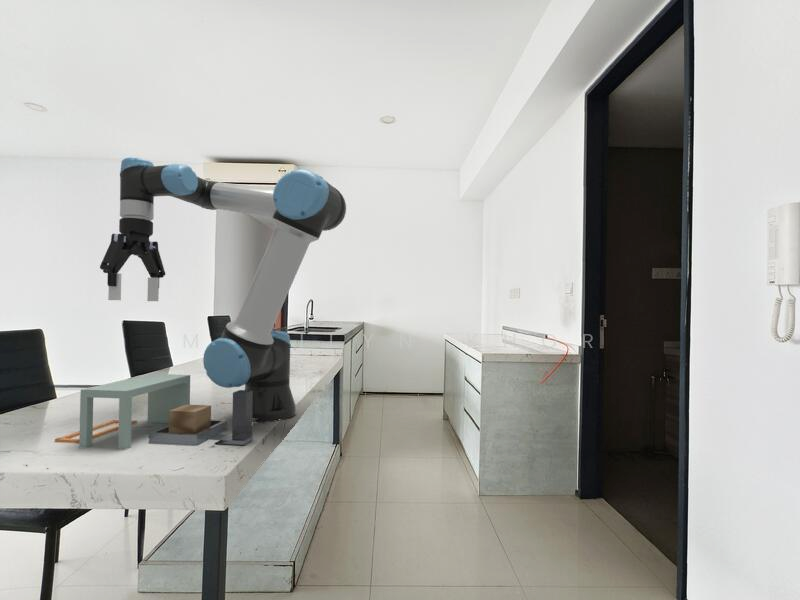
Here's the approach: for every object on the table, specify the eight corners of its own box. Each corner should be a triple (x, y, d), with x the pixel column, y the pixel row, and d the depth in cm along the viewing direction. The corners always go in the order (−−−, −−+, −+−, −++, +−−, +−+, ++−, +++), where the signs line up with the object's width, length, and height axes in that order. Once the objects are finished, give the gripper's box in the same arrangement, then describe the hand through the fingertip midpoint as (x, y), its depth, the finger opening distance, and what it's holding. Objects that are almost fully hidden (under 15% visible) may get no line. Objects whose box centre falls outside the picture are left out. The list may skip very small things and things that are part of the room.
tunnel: (189, 426, 105) (190, 374, 106) (125, 454, 85) (126, 391, 85) (151, 424, 107) (152, 373, 107) (79, 452, 86) (80, 389, 86)
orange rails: (136, 426, 104) (137, 420, 104) (80, 447, 89) (80, 440, 89) (114, 425, 105) (114, 419, 105) (54, 446, 89) (54, 439, 89)
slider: (260, 433, 99) (261, 386, 99) (234, 451, 87) (235, 397, 87) (183, 430, 101) (184, 384, 101) (147, 446, 89) (148, 394, 89)
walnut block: (210, 432, 97) (211, 405, 97) (195, 440, 91) (195, 411, 91) (185, 431, 98) (186, 404, 98) (168, 439, 92) (169, 410, 92)
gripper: (155, 228, 125) (154, 301, 125) (83, 208, 100) (80, 299, 100) (179, 228, 124) (178, 301, 124) (112, 208, 99) (110, 299, 99)
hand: (134, 300), depth 112 cm, fingers open, 13 cm apart
